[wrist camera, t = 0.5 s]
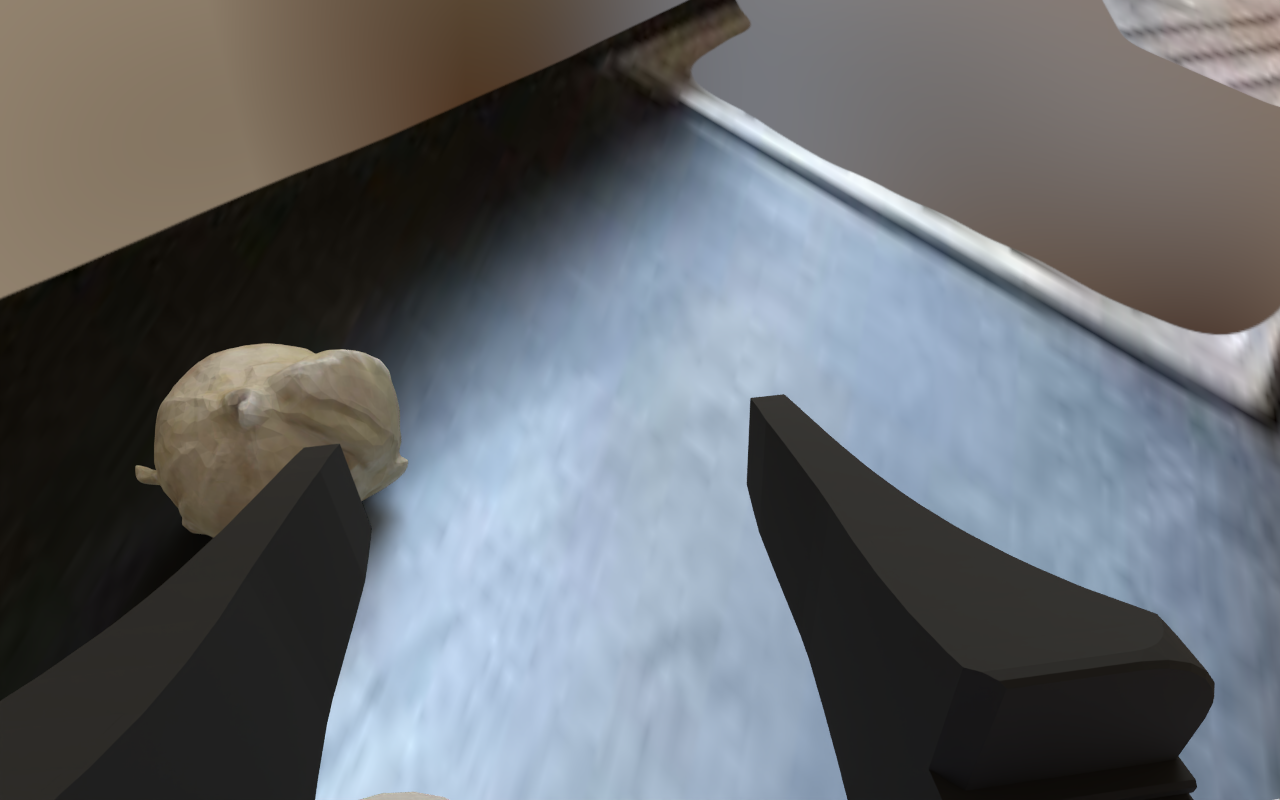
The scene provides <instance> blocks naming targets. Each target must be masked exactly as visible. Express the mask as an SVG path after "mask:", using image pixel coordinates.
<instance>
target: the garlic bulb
mask: <svg viewBox="0 0 1280 800" xmlns="http://www.w3.org/2000/svg"><path fill="white" fill-rule="evenodd" d="M331 444H340V445H341V448H342V451H343V453H344V456H345V459H346V461H347V464H348V467H349V469H350V472H351V475H352V477H353V480H354V483H355V485H356V488H357V491H358V493H359V496H360V499H361V501H363V500H365V499H366V498H368V497H370V496H372V495H373V494H375V493H377V492H379V491H381V490H382V489H384V488H386V487H387V486H389V485H390V484H391V483H393V482H394V481H396V480H397V479H398V478H399V477H400V476H401V475H402V474H403V473H404V472H405V470H406V468H407V465H408V460H406V459H405V458H403V457H401V455H400V453H399V449H400V445H401V433H400V410H399V405H398V400H397V396H396V392H395V390H394V387H393V384H392V381H391V377H390V372H389V371H388V369H387V368H386V366H385V365H384V364H383V363H382V362H381V361H380V360H379V359H377V358H374V357H372V356H370V355H368V354H365V353H362V352H358V351H355V350H353V351H350V350H344V349H343V350H327V351H323V352H320V353H318V354H315V353H313V352H311V351H309V350H307V349H304V348H299V347H293V346H287V345H281V344H256V345H247V346H241V347H238V348H232V349H228V350H224V351H221V352H218V353H215V354H211V355H210V356H208V357H206V358H205V359H203V360H202V361H200V362H199V363H197V364H196V365H195V366H193V367H192V368H191V369H190V370H189V371H188V372H187V373H186V374H185V375H184V376H183V377H182V378H181V379H180V380H179V382H178V383H177V384H176V385H175V386H174V387H173V389H172V390H171V392H170V393H169V395H168V396H167V397H166V398H165V400H164V401H163V402H162V404H161V405H160V408H159V411H158V414H157V420H156V427H155V444H154V463H155V467H156V470H152V469H150V468H147V467H143V466H136V477H137V479H138V480H139V481H140V482H141V483H146V484H154V485H161V487H162V488H163V491H164V492H165V493H166V494H167V495H168V496H169V497H170V499H171V500H172V501H173V502H174V504H175V505H176V506H177V507H178V508H179V512H180V514H181V516H182V525H183V526H184V527H186V528H187V529H188V530H189V531H190V532H192V533H197V534H206V535H209V536H211V537H213V538H214V537H215V536H216V535H217V534H218V533H219V532H221V531H222V530H223V529H224V528H225V527H226V526H227V525H228V524H229V523H230V522H231V521H232V520H233V519H234V518H235V517H236V516H237V515H238V513H239V512H240V511H241V510H242V509H243V508H244V507H245V506H246V505H247V504H248V503H249V502H250V501H251V500H252V499H253V498H254V497H255V496H256V495H257V494H258V493H259V492H260V491H261V490H262V489H263V488H264V487H265V486H266V485H267V484H268V483H269V482H270V481H271V480H272V479H273V478H274V477H275V476H276V475H277V474H278V473H279V472H280V471H281V469H282V468H283V467H284V466H285V465H286V464H287V463H288V462H289V461H290V460H291V459H292V458H293V457H294V456H295V455H296V454H298V453H299V452H300V451H301V450H302V449H303V448H304V447H313V446H322V445H331Z"/></svg>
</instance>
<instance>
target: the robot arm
mask: <svg viewBox="0 0 1280 800" xmlns="http://www.w3.org/2000/svg"><path fill="white" fill-rule="evenodd" d="M747 487H748V491H749V495H750V499H751V503H752V507H753V511H754V515H755V518H756V522H757V526H758V529H759V533H760V536H761V538H762V541H763V543H764V546H765V548H766V551H767V553H768V556H769V558H770V561H771V563H772V566H773V568H774V571H775V573H776V576H777V578H778V581H779V583H780V586H781V588H782V591H783V593H784V596H785V598H786V600H787V603H788V605H789V608H790V610H791V613H792V615H793V618H794V620H795V623H796V625H797V628H798V630H799V633H800V635H801V638H802V641H803V643H804V646H805V649H806V652H807V655H808V657H809V661H810V664H811V667H812V671H813V674H814V678H815V681H816V685H817V688H818V692H819V695H820V699H821V702H822V705H823V709H824V713H825V716H826V720H827V724H828V727H829V731H830V735H831V738H832V742H833V746H834V749H835V753H836V757H837V760H838V764H839V768H840V772H841V776H842V780H843V784H844V788H845V791H846V795H847V799H848V800H1193V798H1192V797H1191V796H1190V794H1189V793H1192V792H1194V790H1195V789H1196V788H1197V784H1196V780H1195V778H1194V777H1193V775H1192V774H1191V773H1190V771H1189V770H1188V769H1187V767H1186V766H1185V765H1184V763H1183V762H1182V761H1181V759H1180V758H1179V757H1178V756H1179V754H1180V753H1181V751H1182V750H1183V749H1184V747H1185V746H1186V744H1187V743H1188V742H1189V740H1190V739H1191V737H1192V736H1193V734H1194V733H1195V732H1196V730H1197V729H1198V727H1199V726H1200V725H1201V723H1202V722H1203V720H1204V719H1205V717H1206V715H1207V713H1208V711H1209V709H1210V707H1211V706H1212V704H1213V699H1214V681H1213V679H1212V678H1211V676H1210V675H1209V673H1208V672H1207V670H1206V669H1205V668H1204V667H1203V666H1202V665H1201V663H1200V662H1199V661H1198V660H1197V659H1196V657H1195V656H1194V655H1193V654H1192V653H1191V652H1190V650H1189V649H1188V648H1187V647H1186V646H1185V644H1184V643H1183V642H1182V641H1181V640H1180V639H1179V637H1178V636H1177V635H1176V634H1175V633H1174V632H1173V631H1172V630H1171V629H1170V627H1169V626H1168V625H1167V624H1166V623H1165V622H1164V621H1163V620H1162V619H1161V618H1160V617H1159V616H1158V615H1157V614H1155V613H1153V612H1150V611H1147V610H1144V609H1141V608H1139V607H1136V606H1133V605H1130V604H1128V603H1125V602H1122V601H1119V600H1117V599H1114V598H1111V597H1108V596H1105V595H1103V594H1100V593H1097V592H1094V591H1092V590H1089V589H1086V588H1084V587H1081V586H1079V585H1076V584H1074V583H1071V582H1069V581H1067V580H1064V579H1062V578H1060V577H1057V576H1055V575H1053V574H1050V573H1048V572H1046V571H1043V570H1041V569H1039V568H1036V567H1034V566H1032V565H1030V564H1028V563H1026V562H1023V561H1021V560H1019V559H1017V558H1015V557H1013V556H1011V555H1009V554H1007V553H1005V552H1003V551H1001V550H999V549H997V548H995V547H993V546H991V545H989V544H987V543H985V542H983V541H981V540H980V539H978V538H976V537H974V536H972V535H970V534H968V533H966V532H965V531H963V530H961V529H959V528H958V527H956V526H954V525H952V524H951V523H949V522H947V521H946V520H944V519H942V518H941V517H939V516H938V515H936V514H934V513H933V512H931V511H930V510H928V509H926V508H925V507H923V506H921V505H920V504H918V503H917V502H915V501H914V500H912V499H911V498H909V497H908V496H906V495H905V494H903V493H902V492H901V491H899V490H898V489H896V488H895V487H894V486H892V485H891V484H890V483H888V482H887V481H885V480H884V479H883V478H881V477H880V476H879V475H877V474H876V473H875V472H873V471H872V470H871V469H869V468H868V467H867V466H866V465H864V464H863V463H862V462H861V461H859V460H858V459H857V458H856V457H855V456H853V455H852V454H851V453H850V452H849V451H847V450H846V449H845V448H844V447H843V446H841V445H840V444H839V443H838V442H837V441H836V440H834V439H833V438H832V437H831V436H830V435H829V434H828V433H826V432H825V431H824V430H823V429H822V428H821V427H820V426H819V425H818V424H816V423H815V422H814V421H813V420H812V419H811V418H810V417H809V416H808V415H807V414H805V413H804V412H803V411H802V410H801V409H800V408H799V407H798V406H797V405H796V404H794V403H793V402H792V401H791V400H790V399H789V398H788V397H786V396H785V395H784V394H783V395H774V396H765V397H756V398H751V399H750V422H749V445H748V468H747ZM371 530H372V528H371V525H370V523H369V520H368V517H367V515H366V512H365V509H364V507H363V504H362V501H361V499H360V496H359V493H358V491H357V488H356V485H355V483H354V480H353V477H352V475H351V472H350V469H349V467H348V464H347V461H346V459H345V456H344V453H343V451H342V448H341V445H340V444H331V445H322V446H313V447H304V448H303V449H302V450H301V451H300V452H299V453H298V454H296V455H295V456H294V457H293V458H292V459H291V460H290V461H289V462H288V463H287V464H286V465H285V466H284V467H283V468H282V469H281V471H280V472H279V473H278V474H277V475H276V476H275V477H274V478H273V479H272V480H271V481H270V482H269V483H268V484H267V485H266V486H265V487H264V488H263V489H262V490H261V491H260V492H259V493H258V494H257V495H256V496H255V497H254V498H253V499H252V500H251V501H250V502H249V503H248V504H247V505H246V506H245V507H244V508H243V509H242V510H241V511H240V512H239V513H238V515H237V516H236V517H235V518H234V519H233V520H232V521H231V522H230V523H229V524H228V525H227V526H226V527H225V528H224V529H223V530H222V531H221V532H219V533H218V534H217V535H216V536H215V537H214V538H213V539H212V540H211V541H210V542H209V543H208V544H206V545H205V546H204V547H203V548H202V549H201V550H200V551H199V552H198V553H197V554H196V555H195V556H194V557H192V558H191V559H190V560H189V561H188V562H187V563H186V564H185V565H184V566H183V567H182V568H181V569H179V570H178V571H177V572H176V573H175V574H174V575H173V576H172V577H171V578H169V579H168V580H167V581H166V582H165V583H164V584H162V585H161V586H160V587H159V588H158V589H156V590H155V591H154V592H153V593H152V594H150V595H149V596H148V597H147V598H146V599H144V600H143V601H142V602H141V603H139V604H138V605H137V606H136V607H134V608H133V609H132V610H130V611H129V612H128V613H127V614H125V615H124V616H123V617H122V618H120V619H119V620H118V621H116V622H115V623H114V624H113V625H111V626H110V627H109V628H107V629H106V630H105V631H103V632H102V633H100V634H99V635H97V636H96V637H95V638H93V639H92V640H90V641H89V642H87V643H86V644H85V645H83V646H82V647H80V648H79V649H78V650H76V651H75V652H73V653H72V654H70V655H69V656H68V657H66V658H65V659H63V660H62V661H60V662H59V663H58V664H56V665H55V666H53V667H52V668H50V669H49V670H48V671H46V672H45V673H43V674H42V675H40V676H39V677H37V678H36V679H34V680H33V681H31V682H29V683H28V684H26V685H25V686H23V687H22V688H20V689H18V690H17V691H15V692H14V693H12V694H11V695H9V696H7V697H6V698H4V699H3V700H1V701H0V800H315V796H316V788H317V781H318V775H319V769H320V763H321V757H322V751H323V745H324V739H325V733H326V727H327V722H328V717H329V713H330V709H331V704H332V700H333V696H334V692H335V689H336V685H337V682H338V678H339V674H340V671H341V667H342V664H343V660H344V656H345V653H346V649H347V646H348V642H349V639H350V635H351V631H352V628H353V624H354V621H355V617H356V613H357V609H358V606H359V602H360V598H361V595H362V591H363V587H364V583H365V578H366V571H367V564H368V557H369V548H370V539H371ZM1275 800H1280V799H1275Z"/></svg>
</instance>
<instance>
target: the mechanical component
mask: <svg viewBox="0 0 1280 800" xmlns="http://www.w3.org/2000/svg"><path fill="white" fill-rule="evenodd" d="M360 800H449V799H447V798H444V797H440V796H434V795H429V794H423V793H417V792H403V793H382V794H378V795H374V796H371V797H367V798H364V799H360Z"/></svg>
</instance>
